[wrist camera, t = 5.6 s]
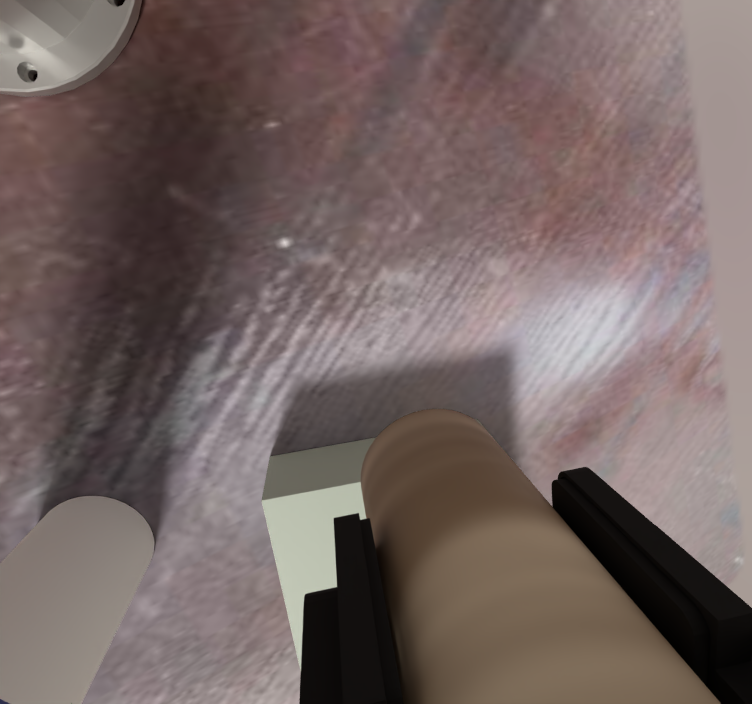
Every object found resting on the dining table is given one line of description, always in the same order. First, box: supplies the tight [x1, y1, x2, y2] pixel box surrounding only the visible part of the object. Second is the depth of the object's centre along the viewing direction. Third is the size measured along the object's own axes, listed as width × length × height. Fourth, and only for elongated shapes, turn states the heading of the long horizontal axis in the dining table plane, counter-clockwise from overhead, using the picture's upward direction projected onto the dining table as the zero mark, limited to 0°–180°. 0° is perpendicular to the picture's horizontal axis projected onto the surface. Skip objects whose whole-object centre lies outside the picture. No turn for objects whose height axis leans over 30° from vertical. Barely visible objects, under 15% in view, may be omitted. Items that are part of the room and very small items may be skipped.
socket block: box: [262, 419, 507, 670], centre depth 30 cm, size 14×14×5 cm
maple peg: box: [361, 409, 721, 704], centre depth 8 cm, size 4×4×10 cm
